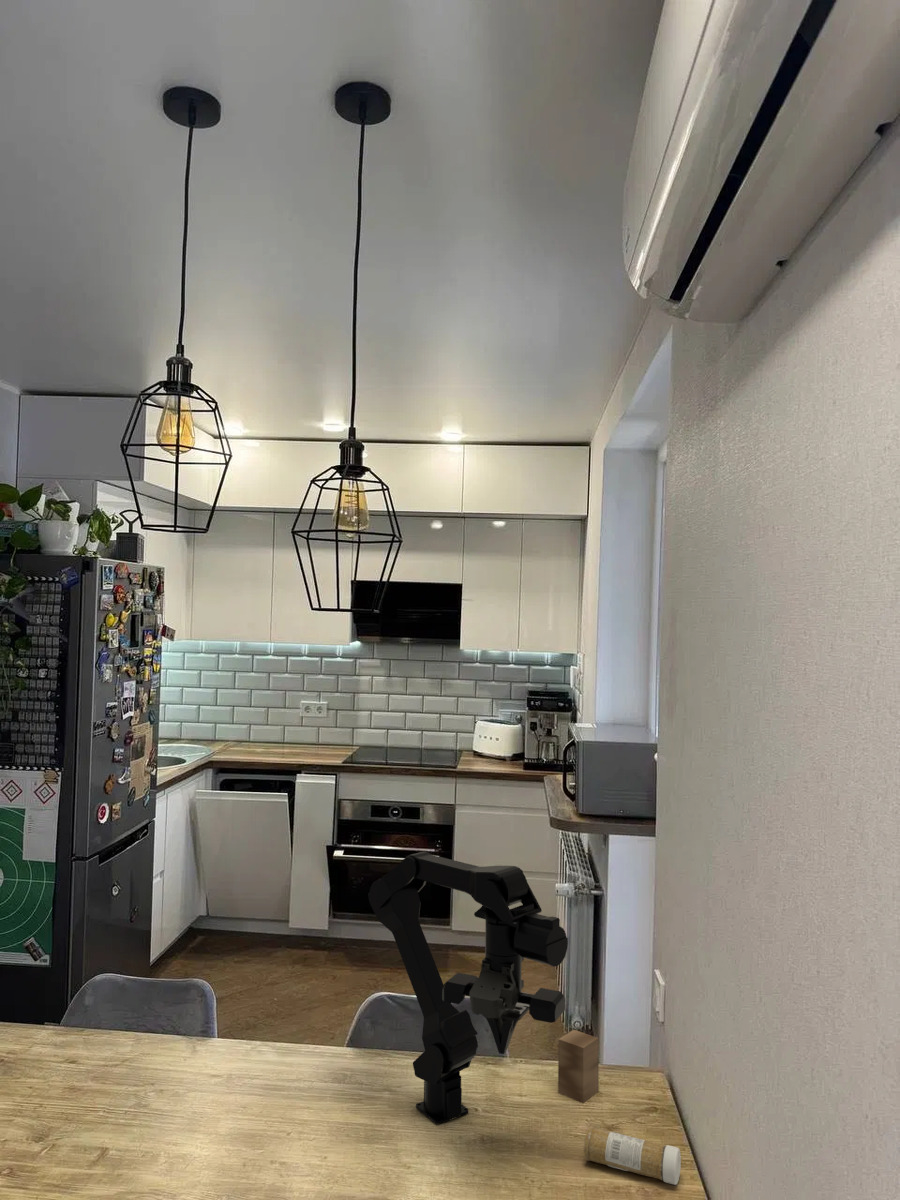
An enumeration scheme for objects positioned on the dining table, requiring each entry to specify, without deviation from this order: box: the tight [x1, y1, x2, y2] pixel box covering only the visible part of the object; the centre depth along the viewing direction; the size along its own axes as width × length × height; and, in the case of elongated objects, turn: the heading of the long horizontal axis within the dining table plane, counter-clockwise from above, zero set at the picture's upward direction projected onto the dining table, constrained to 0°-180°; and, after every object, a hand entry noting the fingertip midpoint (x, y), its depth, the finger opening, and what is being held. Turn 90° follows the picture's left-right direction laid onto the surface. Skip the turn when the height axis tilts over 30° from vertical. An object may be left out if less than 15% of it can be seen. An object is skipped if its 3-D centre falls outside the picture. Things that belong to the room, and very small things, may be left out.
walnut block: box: [557, 1029, 600, 1104], centre depth 146 cm, size 5×5×9 cm
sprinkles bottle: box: [583, 1125, 682, 1186], centre depth 123 cm, size 5×5×13 cm
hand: (502, 1052), depth 132 cm, fingers closed
